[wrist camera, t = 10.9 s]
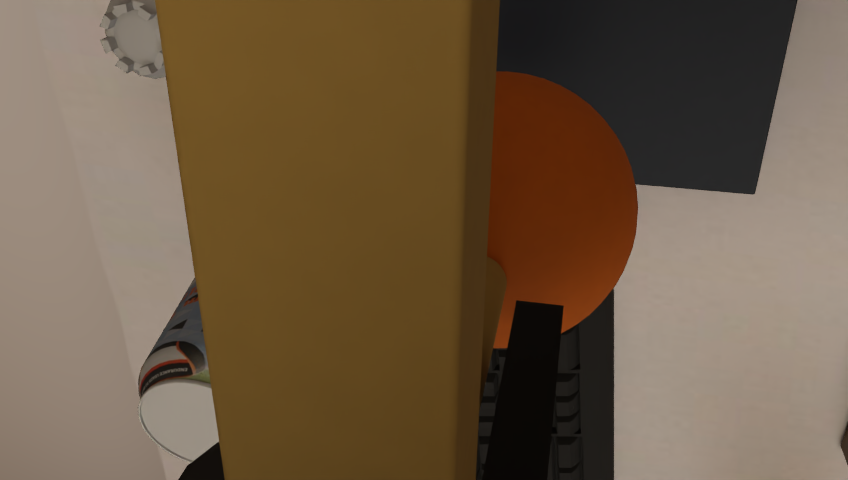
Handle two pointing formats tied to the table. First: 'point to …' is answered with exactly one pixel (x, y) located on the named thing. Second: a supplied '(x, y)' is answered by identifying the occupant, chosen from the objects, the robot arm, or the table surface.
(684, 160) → the slate mat
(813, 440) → the table surface
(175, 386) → the beverage can
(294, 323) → the ball on t-bar
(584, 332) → the keyboard
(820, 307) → the table surface
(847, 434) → the hanger rack
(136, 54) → the rook chess piece
